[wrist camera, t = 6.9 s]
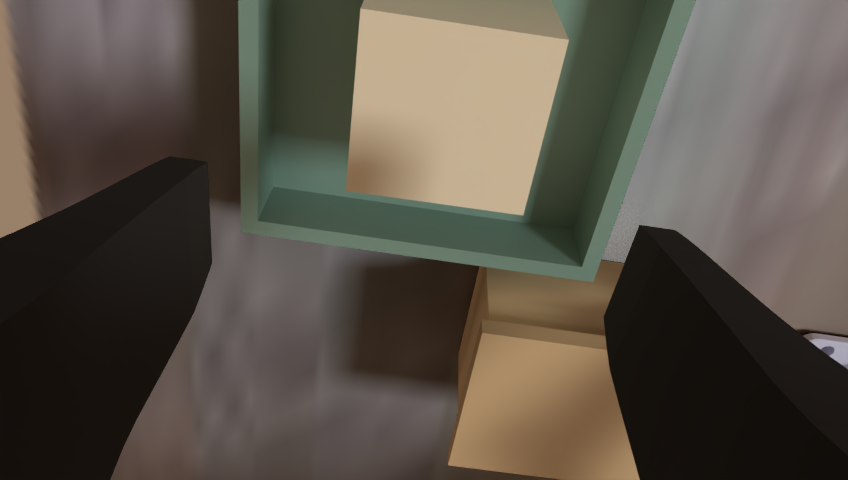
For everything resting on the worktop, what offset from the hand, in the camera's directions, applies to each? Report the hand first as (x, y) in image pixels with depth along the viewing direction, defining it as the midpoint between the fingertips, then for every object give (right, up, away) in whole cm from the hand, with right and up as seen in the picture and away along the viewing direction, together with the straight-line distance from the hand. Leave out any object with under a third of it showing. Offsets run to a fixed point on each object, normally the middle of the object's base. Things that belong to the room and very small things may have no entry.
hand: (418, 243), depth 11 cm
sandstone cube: (+1, +5, +8) cm, 10 cm away
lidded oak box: (+6, -3, +14) cm, 15 cm away
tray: (+1, +5, +8) cm, 10 cm away
